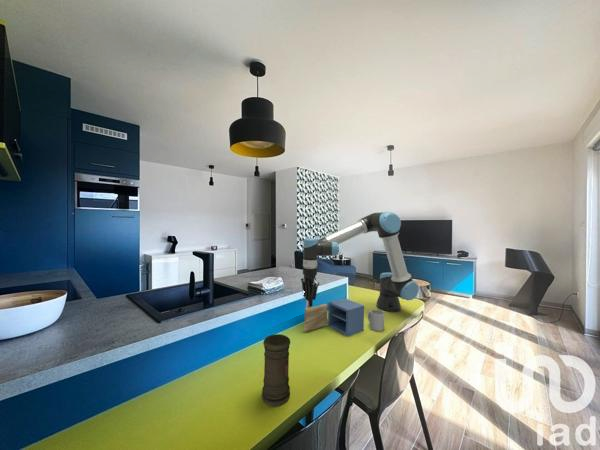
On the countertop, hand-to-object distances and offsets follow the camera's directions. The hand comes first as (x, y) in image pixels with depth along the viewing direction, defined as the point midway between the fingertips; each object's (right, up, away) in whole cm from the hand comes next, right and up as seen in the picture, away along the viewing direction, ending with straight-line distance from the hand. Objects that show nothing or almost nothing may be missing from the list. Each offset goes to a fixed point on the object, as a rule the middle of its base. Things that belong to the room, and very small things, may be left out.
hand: (308, 311), depth 128 cm
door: (+4, -7, -3) cm, 9 cm away
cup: (+35, -9, +1) cm, 36 cm away
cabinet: (+19, -8, -1) cm, 21 cm away
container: (-12, -9, -51) cm, 53 cm away
